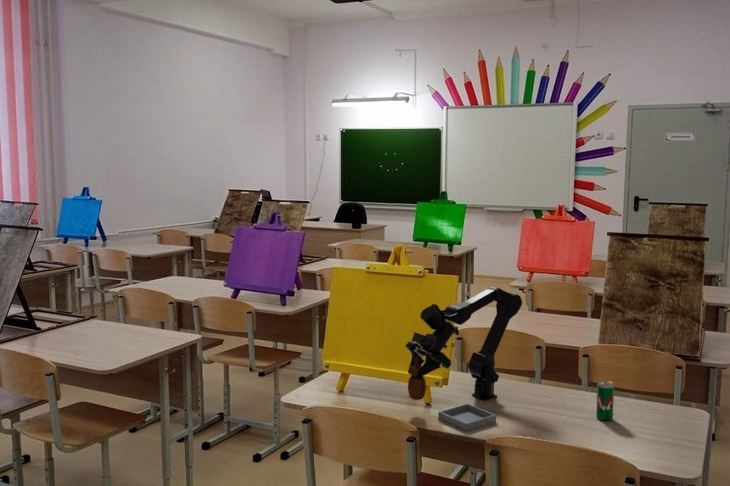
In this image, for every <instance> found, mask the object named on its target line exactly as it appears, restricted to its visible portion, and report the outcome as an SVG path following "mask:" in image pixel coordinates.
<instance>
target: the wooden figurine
mask: <svg viewBox="0 0 730 486" xmlns="http://www.w3.org/2000/svg"><path fill="white" fill-rule="evenodd" d="M422 366H423V365H422V364H421V365H419V356H418V358H417V356H416V359H415V363H414V365H412V366H411V367H410V374H409V375H410V377H409V378H408V383H407V390H408V395H409V398H410V399H411V400H413V401H414V400H415V401H420V400H422V399H423V398H425V395H426V387H427V386H426V383H427V382H426V378H425V377H424V376H423V377H421V378H418V377H417V375H418V373H419V371H420V370H421V368H422Z"/></svg>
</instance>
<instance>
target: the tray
mask: <svg viewBox="0 0 730 486" xmlns="http://www.w3.org/2000/svg"><path fill="white" fill-rule="evenodd" d="M437 413H438V414H437V415H438V416H437V418H438V420H439V421H441V422H444V423H446V424H449V425H450V426H452V427H454V426H455V427H454V428H457V429H459V430H461V429H462V431H463V430H464V431H463V432H465V431H466V432H465V433H467V431H468V432H470V431H471V432H472V431H474V430H478V429H479V428H482V427H486V426H489V425H493V424H495V423H497V414H495V413H493V412H490V411H488V410H485V409H482V408H480V407H477V406H475V405H472V404H471V403H464V404H460V405H457V406H453V407H451V408H447V409H444V410H440V411H438V412H437Z"/></svg>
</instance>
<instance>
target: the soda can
mask: <svg viewBox="0 0 730 486" xmlns="http://www.w3.org/2000/svg"><path fill="white" fill-rule="evenodd" d="M596 388H597V390H596V414H595V415H596V419H598V420H600V421H603V422H610V421H612V420H613V419H614V400H615V399H614V397H615V396H614V395H615V385H614V383H613V382H612V381H609V380H600V381H598V383H597V386H596Z"/></svg>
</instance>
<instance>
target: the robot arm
mask: <svg viewBox="0 0 730 486" xmlns="http://www.w3.org/2000/svg"><path fill="white" fill-rule="evenodd" d="M493 302H496V304H495V306H496V307H495V308H496V315H495V317H494V319H493V321H492V324H491V326H490V328H489V330H488V333H487V335H486V337H485V340H484V341H483V345H482V346H481V349H480V350H479V351H478V352H475V351H473V352H472V353H471V356H470V359H469V360H468V371H469V372H470V375H471V376H470V377H471V378H473V379H475V380H474V382H475V383H474V393H472V394H471V396H472V397H475V398H478V399H479V400H482V401H487V400H492V399H494V398H498V395H497V394H495V393H494V392H495V384H496V383H497V382H499V378H500V375H499V374H498V373H497V372H496V371H495V366H496V362H495V354H496V352H497V349H498V348H499V346H500V343H501V341H502V338H503V336H504V334H505V331H506V329H507V327H508V325H509V322H510V320H511V319H513V317H514V316H516V315H517V314H518V313H519V311H520V309H521V307H522V304H523V300H522V297H521V296H520V294H516V293H512V292H508V291H505V290H503V289H501V287H495V286H492V285H491V286H488V287H487V288H486V289H485V290H483V291H481V292H480V293H478V294H476V295H474V296H472V297H471V298H469V299H467V300H465V301H461V302H456V304H455V303H453V304H449V305H448V306H446V307H445V308H444V309H441V308H440V307H439V305H437V304H435V303H432V304H431V305H430V306H428V307H425V308H424V309H423V310H422V311H421V312H420V317H419V318H420V319H421V320H422V321H423V322H424V324H426V326H428V327H429V328H430V329H431V330H433V332H432V333H425V335H424V334H422V333H419V332H417V331H414V333H413V335H412V338H411V340H410V341H408V342H406V345H405V348H406V349H407V350H408V351H409V352H410V353H411V359H410V363H409V367H408V370H407V373H408V374H409V375H410V367H411V366H412V365H414V363H415V359H416V356H417V358H418V356H419V365H422V364H423V365H422V368H421V370H420V371H419V373H418V375H417V377H418V378H421V377H424V376H426V375H428V374H430V373H432V372H433V371H436V370H438V369H441V368H444V369H446V370H448V369H449V368H450V367H451V366H452V360H451V359H450V358H449V357H448V356H447V355H446V354H445V353H444V352H442V350H443V349H447V348H448V345H447V343H448V342H449V340H450V339H451V337H452V336H453V335H456V336H459V335H460V331H459V326H455V325H453V324H456V325H460V326H461V325H464V324H465V323H466V322H467V321H469V320H470V319H471V316H472V315H473V314H474V313H476V312H477V311H479V310H480V309H482V308H484V307H486V306H488V305H490V304H491V303H493ZM452 323H453V324H452ZM424 357H425V360H424V359H423V358H424Z"/></svg>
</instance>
